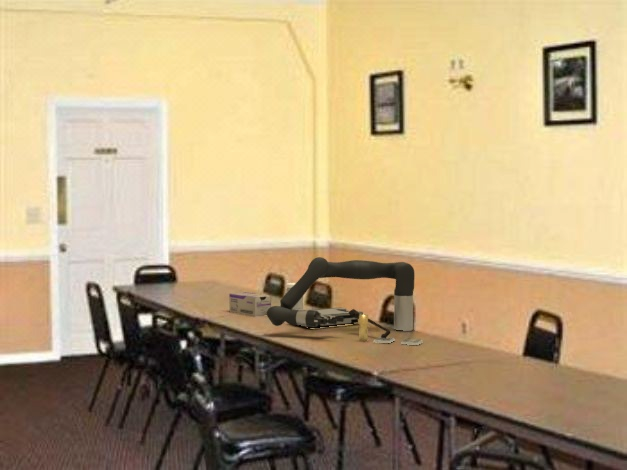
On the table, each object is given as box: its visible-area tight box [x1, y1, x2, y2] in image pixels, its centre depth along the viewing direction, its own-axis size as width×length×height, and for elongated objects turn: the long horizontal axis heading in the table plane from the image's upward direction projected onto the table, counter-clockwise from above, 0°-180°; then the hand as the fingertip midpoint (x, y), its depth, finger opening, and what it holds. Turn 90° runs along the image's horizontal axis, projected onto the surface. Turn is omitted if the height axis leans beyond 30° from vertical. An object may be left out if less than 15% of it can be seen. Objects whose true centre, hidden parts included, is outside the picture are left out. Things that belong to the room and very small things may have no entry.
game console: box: [292, 307, 364, 329], centre depth 494 cm, size 21×32×8 cm, turn 121°
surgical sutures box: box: [228, 291, 272, 318], centre depth 538 cm, size 25×11×11 cm, turn 38°
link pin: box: [358, 313, 369, 342], centre depth 444 cm, size 4×4×12 cm
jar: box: [284, 282, 304, 309], centre depth 524 cm, size 10×10×18 cm
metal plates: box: [373, 336, 424, 346], centre depth 438 cm, size 8×20×2 cm, turn 67°
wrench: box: [348, 308, 391, 338], centre depth 456 cm, size 5×5×30 cm
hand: (340, 320), depth 448 cm, fingers open, 8 cm apart
